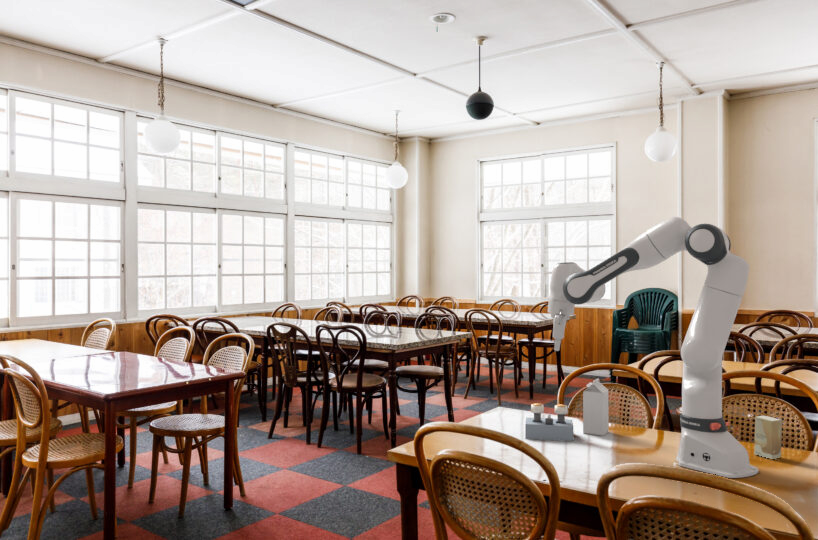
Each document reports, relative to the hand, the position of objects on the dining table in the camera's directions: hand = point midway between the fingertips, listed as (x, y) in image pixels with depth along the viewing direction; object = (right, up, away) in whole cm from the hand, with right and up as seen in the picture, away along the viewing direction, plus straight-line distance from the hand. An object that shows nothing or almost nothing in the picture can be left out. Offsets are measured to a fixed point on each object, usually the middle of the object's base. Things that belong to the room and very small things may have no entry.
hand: (556, 348), depth 218 cm
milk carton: (+16, -31, +8) cm, 36 cm away
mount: (-2, -31, +3) cm, 31 cm away
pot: (-3, -26, 0) cm, 26 cm away
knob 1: (-6, -28, +4) cm, 29 cm away
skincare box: (+61, -31, -21) cm, 72 cm away
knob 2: (+2, -28, +3) cm, 28 cm away
